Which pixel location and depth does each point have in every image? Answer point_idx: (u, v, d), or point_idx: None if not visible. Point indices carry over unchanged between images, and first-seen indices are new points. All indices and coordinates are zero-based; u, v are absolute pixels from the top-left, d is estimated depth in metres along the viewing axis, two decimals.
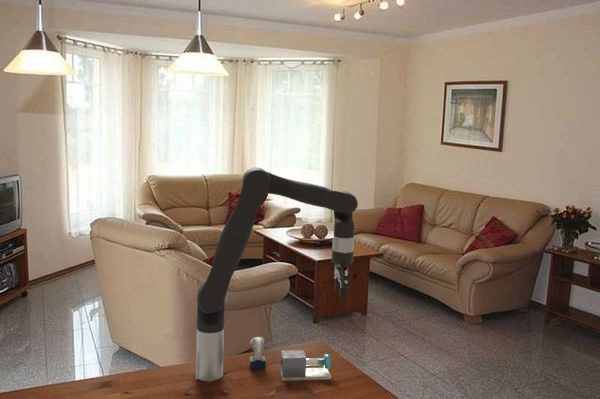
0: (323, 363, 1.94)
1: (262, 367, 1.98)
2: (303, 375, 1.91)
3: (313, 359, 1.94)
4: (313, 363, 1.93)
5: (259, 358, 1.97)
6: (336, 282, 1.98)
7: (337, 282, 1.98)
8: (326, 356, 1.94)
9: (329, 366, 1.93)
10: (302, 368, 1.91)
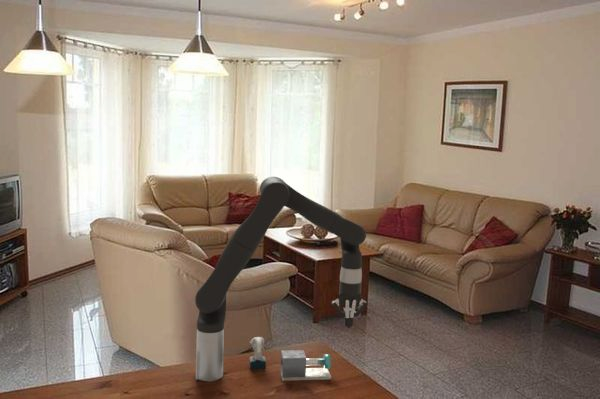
0: (323, 363, 1.94)
1: (262, 367, 1.98)
2: (303, 375, 1.91)
3: (313, 359, 1.94)
4: (313, 363, 1.93)
5: (259, 358, 1.97)
6: None
7: None
8: (326, 356, 1.94)
9: (329, 366, 1.93)
10: (302, 368, 1.91)
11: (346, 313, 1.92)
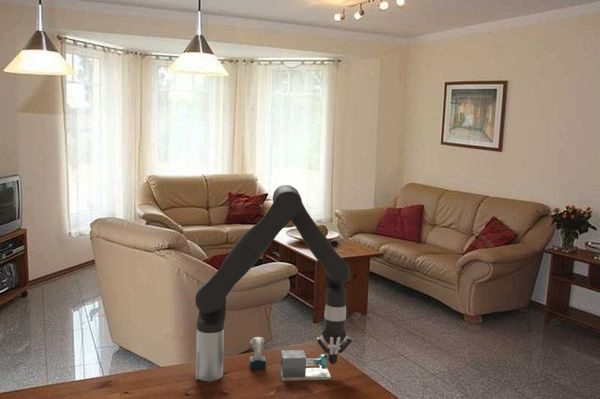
0: (319, 363, 1.94)
1: (262, 367, 1.98)
2: (303, 375, 1.91)
3: (309, 359, 1.94)
4: (309, 363, 1.93)
5: (259, 358, 1.97)
6: (333, 356, 1.95)
7: None
8: (322, 356, 1.94)
9: (325, 366, 1.93)
10: (302, 368, 1.91)
11: (330, 350, 1.94)
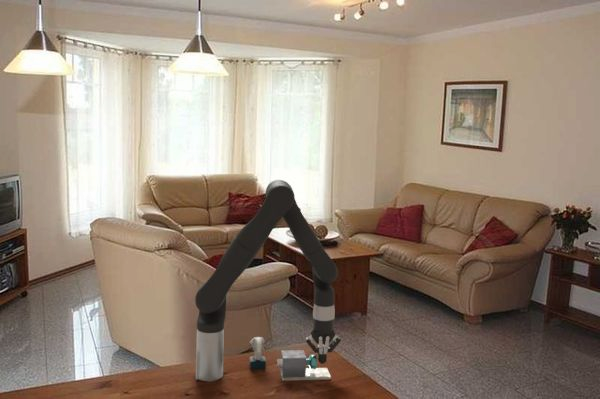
0: (309, 363, 1.93)
1: (262, 367, 1.98)
2: (303, 375, 1.91)
3: None
4: None
5: (259, 358, 1.97)
6: None
7: None
8: (312, 356, 1.93)
9: (315, 366, 1.93)
10: (302, 368, 1.91)
11: (320, 349, 1.93)
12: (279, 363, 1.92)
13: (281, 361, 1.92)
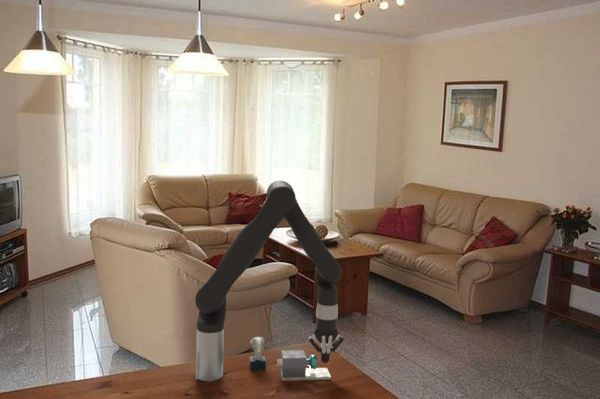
0: (309, 363, 1.93)
1: (262, 367, 1.98)
2: (303, 375, 1.91)
3: None
4: None
5: (259, 358, 1.97)
6: None
7: None
8: (312, 356, 1.93)
9: (315, 366, 1.93)
10: (302, 368, 1.91)
11: (322, 349, 1.93)
12: (279, 363, 1.92)
13: (281, 361, 1.92)
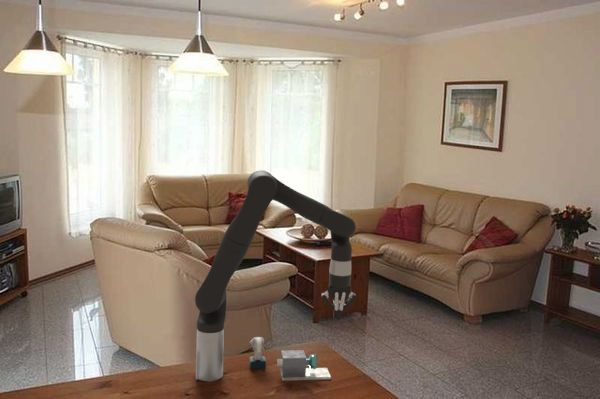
0: (309, 363, 1.93)
1: (262, 367, 1.98)
2: (303, 375, 1.91)
3: None
4: None
5: (259, 358, 1.97)
6: None
7: None
8: (312, 356, 1.93)
9: (315, 366, 1.93)
10: (302, 368, 1.91)
11: (335, 305, 1.92)
12: (279, 363, 1.92)
13: (281, 361, 1.92)
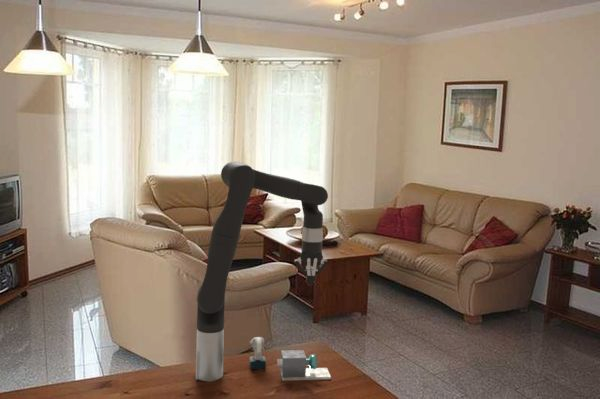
0: (309, 363, 1.93)
1: (262, 367, 1.98)
2: (303, 375, 1.91)
3: None
4: None
5: (259, 358, 1.97)
6: None
7: None
8: (312, 356, 1.93)
9: (315, 366, 1.93)
10: (302, 368, 1.91)
11: (308, 271, 2.02)
12: (279, 363, 1.92)
13: (281, 361, 1.92)
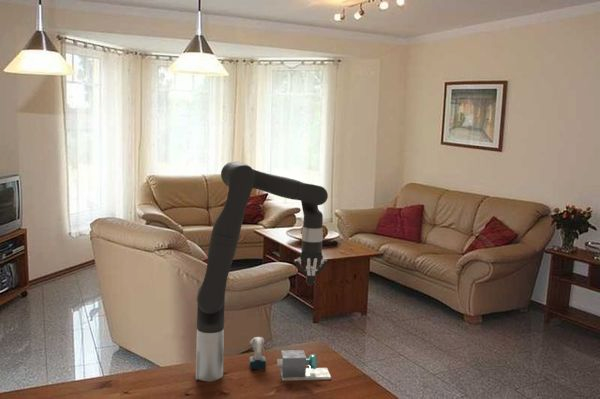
0: (309, 363, 1.93)
1: (262, 367, 1.98)
2: (303, 375, 1.91)
3: None
4: None
5: (259, 358, 1.97)
6: None
7: None
8: (312, 356, 1.93)
9: (315, 366, 1.93)
10: (302, 368, 1.91)
11: (308, 271, 2.02)
12: (279, 363, 1.92)
13: (281, 361, 1.92)
